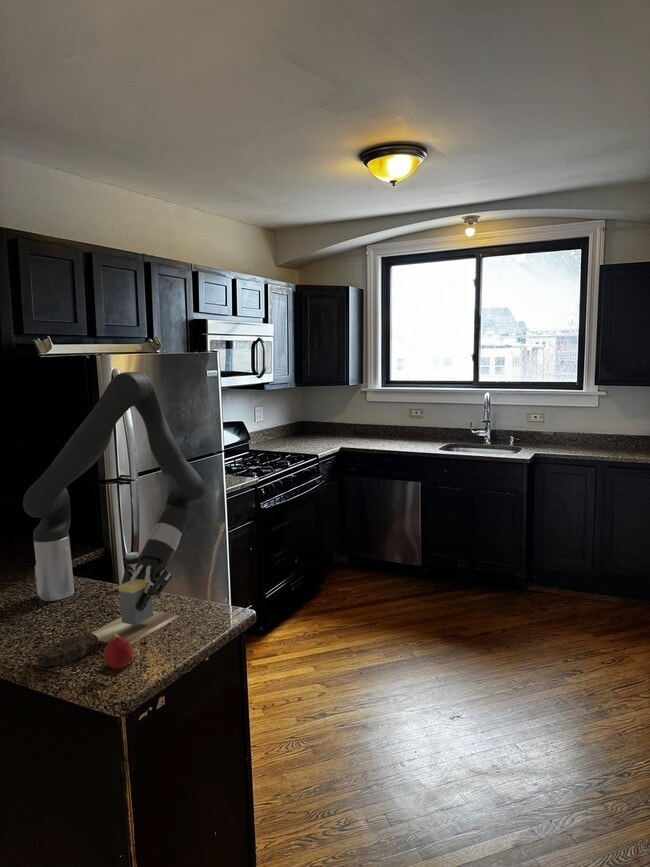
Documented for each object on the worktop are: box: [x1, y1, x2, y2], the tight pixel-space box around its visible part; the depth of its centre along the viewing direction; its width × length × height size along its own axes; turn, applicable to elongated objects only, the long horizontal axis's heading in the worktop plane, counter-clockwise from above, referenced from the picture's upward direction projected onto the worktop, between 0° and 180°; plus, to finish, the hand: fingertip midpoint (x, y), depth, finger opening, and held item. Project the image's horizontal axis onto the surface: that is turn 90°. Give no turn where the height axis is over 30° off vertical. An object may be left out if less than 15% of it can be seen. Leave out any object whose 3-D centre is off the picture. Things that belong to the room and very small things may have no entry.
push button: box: [122, 551, 141, 567], centre depth 176 cm, size 7×5×10 cm
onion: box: [102, 634, 133, 670], centre depth 124 cm, size 6×6×8 cm
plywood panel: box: [91, 610, 181, 645], centre depth 144 cm, size 14×18×1 cm
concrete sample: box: [35, 632, 100, 667], centre depth 131 cm, size 12×10×5 cm
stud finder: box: [118, 579, 154, 625], centre depth 143 cm, size 4×6×9 cm
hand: (131, 608), depth 141 cm, fingers closed on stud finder, 4 cm apart
